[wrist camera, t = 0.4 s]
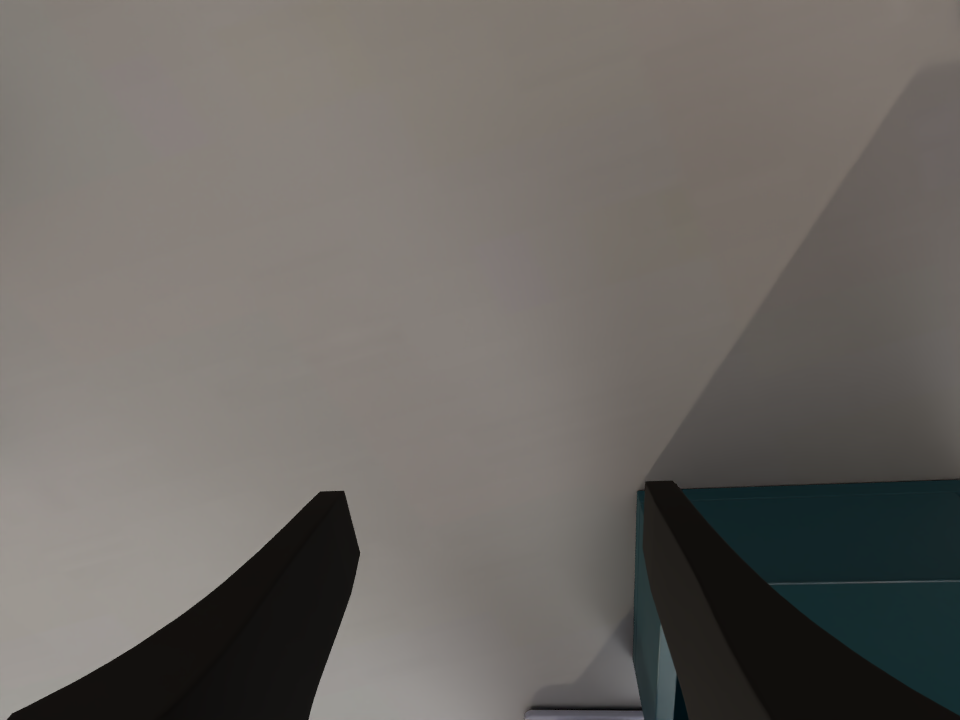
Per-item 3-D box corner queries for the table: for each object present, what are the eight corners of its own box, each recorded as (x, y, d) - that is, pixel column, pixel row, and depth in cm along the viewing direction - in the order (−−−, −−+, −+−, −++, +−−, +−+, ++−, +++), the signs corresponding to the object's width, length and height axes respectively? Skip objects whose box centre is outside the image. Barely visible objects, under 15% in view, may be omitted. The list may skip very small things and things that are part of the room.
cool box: (900, 657, 29) (974, 770, 24) (632, 658, 30) (652, 764, 26) (962, 478, 24) (1070, 577, 19) (636, 490, 25) (662, 584, 21)
